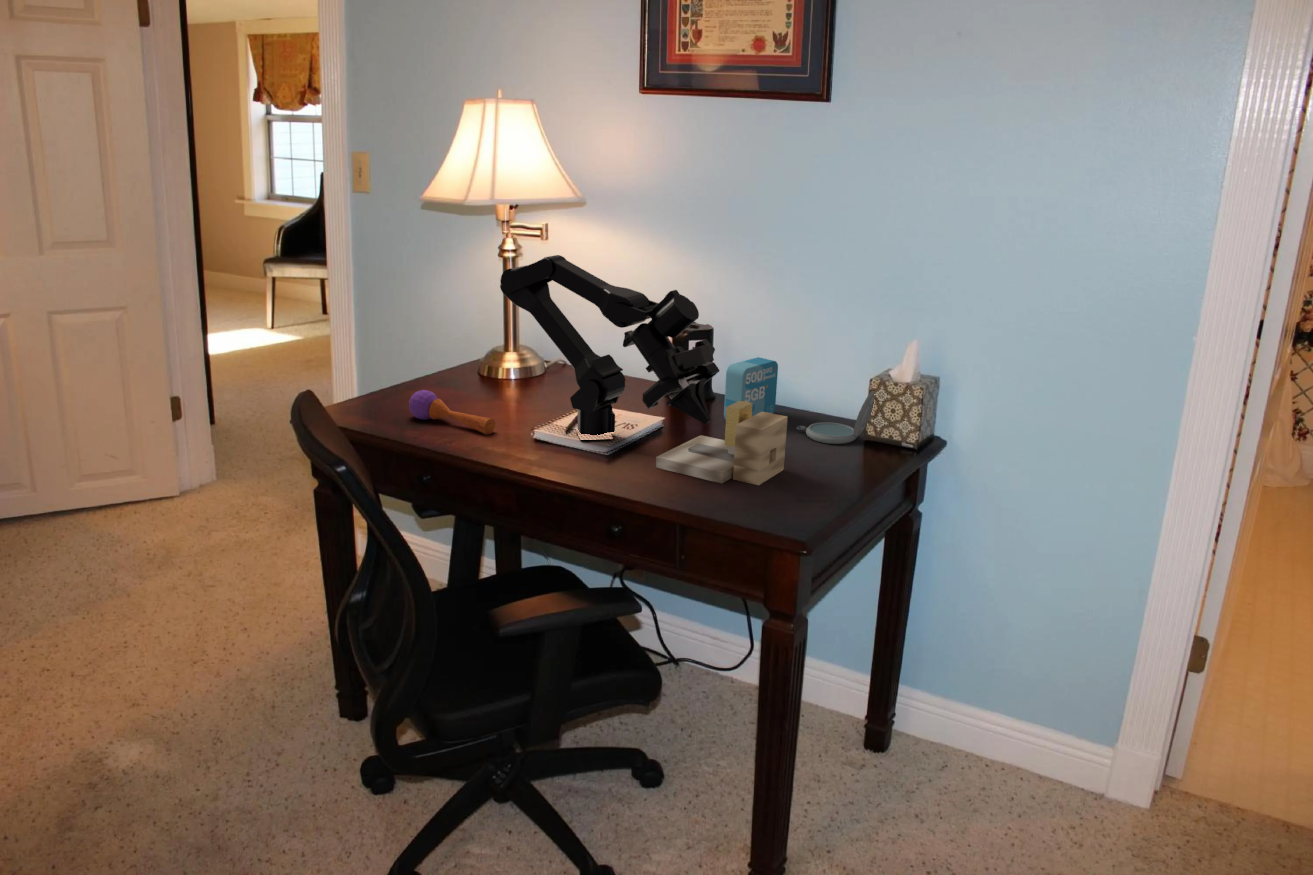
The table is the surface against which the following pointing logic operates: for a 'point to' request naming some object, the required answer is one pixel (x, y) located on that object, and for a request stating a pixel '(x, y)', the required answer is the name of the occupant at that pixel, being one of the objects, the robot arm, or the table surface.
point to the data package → (752, 384)
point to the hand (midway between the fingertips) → (708, 422)
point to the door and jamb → (751, 461)
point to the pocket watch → (841, 427)
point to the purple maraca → (445, 412)
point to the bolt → (735, 421)
